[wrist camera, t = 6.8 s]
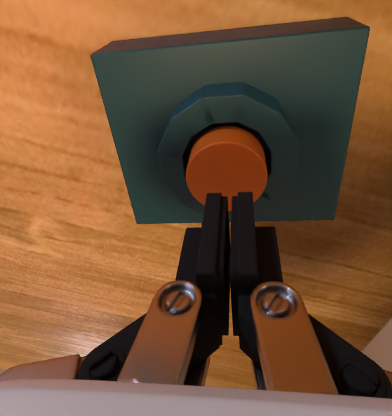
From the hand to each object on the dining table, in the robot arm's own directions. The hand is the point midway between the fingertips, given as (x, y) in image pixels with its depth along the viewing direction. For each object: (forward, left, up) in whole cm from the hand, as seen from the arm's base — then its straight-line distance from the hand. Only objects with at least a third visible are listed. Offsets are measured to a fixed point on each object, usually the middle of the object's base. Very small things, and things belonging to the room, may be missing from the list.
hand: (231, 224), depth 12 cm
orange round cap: (0, 0, -4) cm, 5 cm away
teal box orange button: (0, 0, -9) cm, 9 cm away
